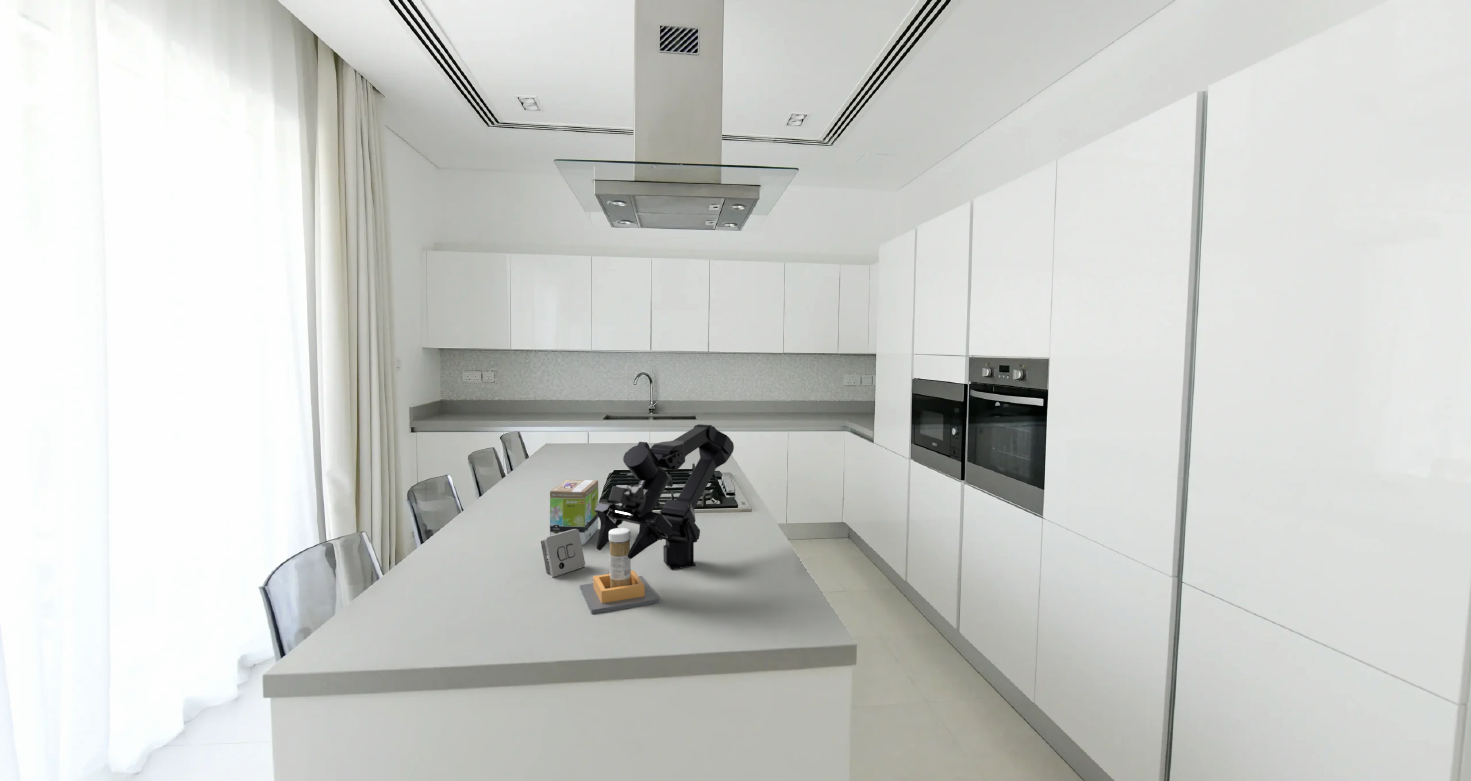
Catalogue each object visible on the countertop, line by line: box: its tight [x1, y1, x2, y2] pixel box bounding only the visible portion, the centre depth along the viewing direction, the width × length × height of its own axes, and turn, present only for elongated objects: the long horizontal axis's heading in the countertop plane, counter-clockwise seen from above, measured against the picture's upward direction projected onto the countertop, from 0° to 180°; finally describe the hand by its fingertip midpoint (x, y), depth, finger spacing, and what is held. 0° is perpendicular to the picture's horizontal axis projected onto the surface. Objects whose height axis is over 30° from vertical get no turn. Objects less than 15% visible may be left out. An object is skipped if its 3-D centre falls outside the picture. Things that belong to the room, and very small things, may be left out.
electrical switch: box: [540, 529, 586, 578], centre depth 149 cm, size 9×5×9 cm, turn 141°
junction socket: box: [579, 570, 660, 615], centre depth 134 cm, size 14×14×3 cm
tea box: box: [549, 479, 599, 546], centre depth 174 cm, size 15×10×15 cm
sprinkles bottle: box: [608, 527, 632, 588], centre depth 134 cm, size 5×5×14 cm
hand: (613, 553), depth 133 cm, fingers open, 9 cm apart
